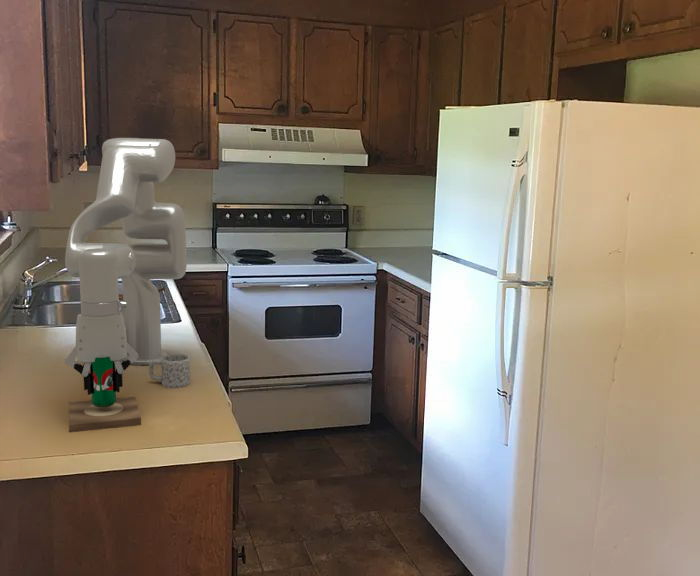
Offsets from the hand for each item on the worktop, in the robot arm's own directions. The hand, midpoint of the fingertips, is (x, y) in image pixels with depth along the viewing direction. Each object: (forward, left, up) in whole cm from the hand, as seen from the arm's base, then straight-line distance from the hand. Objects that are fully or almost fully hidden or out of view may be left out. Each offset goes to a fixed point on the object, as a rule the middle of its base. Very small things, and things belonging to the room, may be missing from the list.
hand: (103, 390), depth 158 cm
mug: (-19, +16, -6) cm, 25 cm away
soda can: (0, 0, -3) cm, 3 cm away
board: (0, 0, -6) cm, 6 cm away
